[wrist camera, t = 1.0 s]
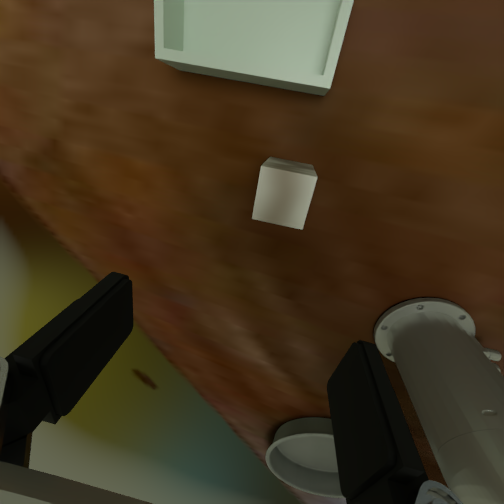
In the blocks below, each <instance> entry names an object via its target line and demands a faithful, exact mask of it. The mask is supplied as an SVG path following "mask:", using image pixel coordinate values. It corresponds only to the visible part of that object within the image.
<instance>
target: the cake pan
mask: <svg viewBox="0 0 504 504" xmlns="http://www.w3.org/2000/svg"><path fill="white" fill-rule="evenodd" d="M266 462H267V465H268V467H269V469H270V470H271V471H272V472H273V473H274V475H276V476H277V477H278V478H279V479H280V480H282V481H283V482H285V483H287V484H288V485H290V486H292V487H295V488H297V489H299V490H302V491H305V492H308V493H311V494H315V495H320V496H325V497H333V498H345V497H343V495H342V493H341V489H340V482H339V474H338V467H337V459H336V452H335V444H334V437H333V429H332V422H331V419H328V418H319V417H309V418H300V419H295V420H292V421H289V422H287V423H285V424H284V425H282V426H281V427H280V428H279V429H278V430H277V432H276V434H275V437H274V441H273V443H272V444H271V445H270V447H269V448H268V450H267V452H266Z"/></svg>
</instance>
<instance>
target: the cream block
mask: <svg viewBox="0 0 504 504" xmlns="http://www.w3.org/2000/svg"><path fill="white" fill-rule="evenodd" d="M317 178H318V177H317V175H316V172H315V170H314V167H313V165H309V164H304V163H299V162H294V161H289V160H284V159H279V158H274V157H269V158H268V159H267V160H266V161H265V162H264V163H263V164H262V165H261V170H260V175H259V181H258V187H257V192H256V198H255V204H254V209H253V215H252V219H255V220H260V221H264V222H269V223H273V224H278V225H283V226H287V227H292V228H296V229H301V230H302V229H303V226H304V222H305V219H306V216H307V212H308V209H309V205H310V202H311V198H312V195H313V191H314V188H315V184H316V181H317Z"/></svg>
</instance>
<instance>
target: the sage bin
mask: <svg viewBox="0 0 504 504" xmlns="http://www.w3.org/2000/svg"><path fill="white" fill-rule="evenodd" d="M353 1H354V0H154V24H155V58H156V59H158V60H160V61H162V62H164V63H166V64H168V65H170V66H172V67H174V68H176V69H178V70H181V71H186V72H192V73H198V74H203V75H209V76H215V77H220V78H226V79H231V80H237V81H243V82H248V83H254V84H260V85H265V86H271V87H276V88H282V89H288V90H293V91H299V92H305V93H310V94H316V95H321V96H325V94H326V93H327V92H328V91H329V89H330V87H331V83H332V80H333V76H334V72H335V68H336V65H337V61H338V57H339V53H340V50H341V46H342V42H343V39H344V35H345V31H346V27H347V24H348V20H349V16H350V12H351V9H352V5H353Z"/></svg>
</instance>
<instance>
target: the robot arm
mask: <svg viewBox="0 0 504 504" xmlns="http://www.w3.org/2000/svg"><path fill="white" fill-rule="evenodd" d="M132 329H133V297H132V281H131V280H129V277H128V276H127V275H124V274H120V273H116V272H111V273H110V274H109V275H107V276H106V277H105V278H104V279H103V280H101V281H100V282H99V283H98V284H96V285H95V286H94V287H93V288H92V289H90V290H89V291H88V292H87V293H86V294H84V295H83V296H82V297H81V298H80V299H77V300H76V301H74V302H73V303H72V304H70V305H69V306H68V307H67V308H66V309H64V310H63V311H62V312H61V313H59V314H58V315H57V316H56V317H55V318H53V319H52V320H51V321H50V322H48V323H47V324H46V325H45V326H44V327H42V328H41V329H40V330H39V331H37V332H36V333H35V334H34V335H33V336H31V337H30V338H29V339H28V340H27V341H25V342H24V343H23V344H22V345H20V346H19V347H18V348H17V349H16V350H14V351H13V352H12V353H11V354H9V355H8V356H7V357H6V358H5V359H4V358H2V357H0V504H152V503H149V502H145V501H142V500H138V499H135V498H131V497H128V496H125V495H121V494H118V493H114V492H111V491H107V490H104V489H100V488H97V487H93V486H90V485H86V484H83V483H80V482H76V481H73V480H69V479H66V478H62V477H59V476H55V475H51V474H48V473H44V472H40V471H36V470H32V469H29V460H30V451H31V442H32V432H33V431H34V430H35V429H36V427H37V426H38V425H39V424H40V423H41V421H45V422H49V423H53V424H56V423H57V421H58V420H59V419H60V417H61V416H65V415H67V414H68V413H69V412H70V411H71V410H72V409H73V407H74V406H75V405H76V404H77V402H78V401H79V400H80V398H81V397H82V396H83V394H84V393H85V392H86V391H87V389H88V388H89V387H90V385H91V384H92V383H93V381H94V380H95V379H96V377H97V376H98V375H99V373H100V372H101V371H102V369H103V368H104V367H105V366H106V364H107V363H108V362H109V361H110V359H111V358H112V357H113V355H114V354H115V353H116V351H117V350H118V349H119V347H120V346H121V345H122V343H123V342H124V341H125V340H126V338H127V337H128V336H129V334H130V333H131V331H132ZM474 336H475V324H474V321H473V320H472V318H471V317H470V315H469V314H468V313H467V312H466V311H465V310H464V309H463V308H462V307H460V306H459V305H457V304H455V303H453V302H450V301H448V300H444V299H439V298H418V299H413V300H408V301H405V302H402V303H400V304H398V305H396V306H394V307H392V308H390V309H389V310H388V311H386V312H385V313H384V314H383V315H382V316H381V317H380V318H379V320H378V321H377V323H376V325H375V328H374V340H375V343H376V345H377V347H376V345H375V344H372V343H369V342H365V341H361V340H359V341H358V342H357V343H355V342H354V343H353V344H352V345H351V347H350V348H349V350H348V351H347V353H346V354H345V356H344V357H343V359H342V360H341V362H340V364H339V365H338V367H337V368H336V370H335V371H334V373H333V374H332V376H331V377H330V379H329V381H328V384H327V392H328V399H329V407H330V414H331V422H332V429H333V437H334V444H335V452H336V459H337V467H338V474H339V482H340V489H341V493H342V495H343V497H345V498H346V502H347V504H504V376H503V375H502V374H501V373H500V368H499V366H498V365H497V364H496V363H492V362H491V361H490V360H494V361H499V360H500V359H501V354H500V352H499V351H497V350H493V349H489V348H483V346H482V345H481V344H480V343H479V342H478V341H477V339H476V338H475V337H474ZM377 348H378V349H379V351H380V352H381V353H382V354H383V355H384V356H385V357H386V358H388V359H389V360H391V361H393V362H395V363H396V365H397V368H398V370H399V372H400V375H401V377H402V380H403V382H404V384H405V387H406V389H407V392H408V394H409V396H410V399H411V401H412V404H413V406H414V408H415V411H416V413H417V415H418V418H419V420H420V423H421V425H422V427H423V430H424V432H425V435H426V437H427V439H428V442H429V444H430V446H431V449H432V451H433V454H434V456H435V458H436V461H437V463H438V465H439V467H440V470H441V472H442V474H443V477H444V479H445V481H446V483H447V485H448V487H449V488H450V490H451V491H450V490H449V489H448V488H447V487H446V486H444V485H442V484H440V483H438V482H436V481H431V480H428V477H427V474H426V472H425V469H424V467H423V464H422V461H421V459H420V456H419V454H418V451H417V448H416V446H415V443H414V441H413V438H412V435H411V433H410V430H409V428H408V425H407V422H406V420H405V417H404V415H403V412H402V409H401V407H400V404H399V402H398V399H397V396H396V394H395V391H394V389H393V387H392V386H391V383H390V380H389V378H388V375H387V373H386V370H385V367H384V365H383V362H382V359H381V357H380V354H379V352H378V349H377ZM489 359H490V360H489Z"/></svg>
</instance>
